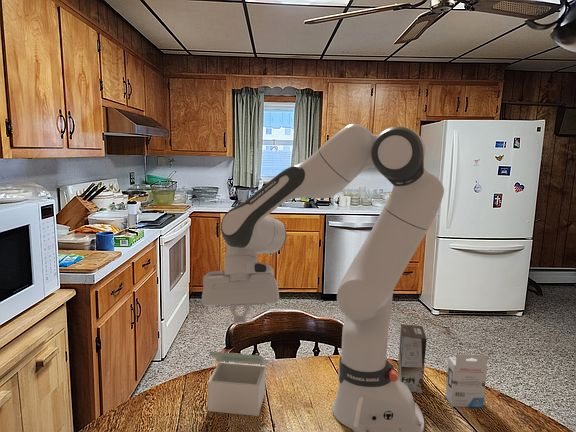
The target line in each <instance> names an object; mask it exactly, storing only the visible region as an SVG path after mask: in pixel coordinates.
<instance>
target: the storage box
mask: <svg viewBox="0 0 576 432" xmlns="http://www.w3.org/2000/svg"><path fill="white" fill-rule="evenodd" d="M266 374H267V366H266V365H263V364H251V363H239V362H226V361H218V364H217V365H216V367H215V368H214V370H213V372H212V374H211V375H210V377H209V379H208V380H207V411H208V412H214V413H224V414H225V413H226V414H233V415H234V414H235V415H242V416H243V415H244V416H254V417H259V415H260V413H261V408H262V406H263V402H264V399H265V396H266V386H267V385H266V384H267V383H266V379H267V377H266V376H267V375H266Z"/></svg>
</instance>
